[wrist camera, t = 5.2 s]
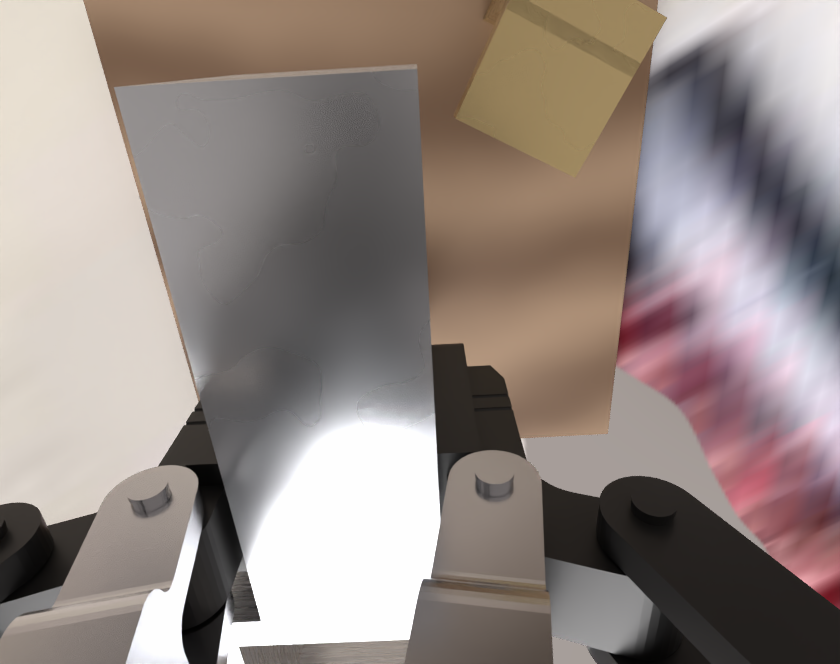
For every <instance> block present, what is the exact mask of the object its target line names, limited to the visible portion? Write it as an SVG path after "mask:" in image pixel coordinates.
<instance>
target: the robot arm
mask: <svg viewBox="0 0 840 664" xmlns="http://www.w3.org/2000/svg"><path fill="white" fill-rule="evenodd" d="M431 348H432V367H433V387H434V406H435V426H436V445H437V465H438V484H439V504H440V525H439V531H438V537H437V542H436V548H435V553H434V559H433V564H432V570H431V575H430V578H423V580H422V582H421V585H420V588H419V592H418V596H417V601H416V606H415V611H414V617H413V622H412V627H411V632H410V637H409V642H408V647H407V652H406V657H405V662H404V664H553V648H552V636H553V637H556V638H560V639H564V640H567V641H571V642H574V643H578V644H581V645H585V646H587V648H588V650H589V652H590V654H591V656H592V657H593V659H594V660H595V662H596V663H597V664H840V610H839V609H838V608H837V607H835V606H834V605H833V604H832V603H830V602H829V601H828V600H826V599H825V598H824V597H823V596H821V595H820V594H819V593H817V592H816V591H815V590H813V589H812V588H811V587H810V586H808V585H807V584H806V583H804V582H803V581H802V580H801V579H799V578H798V577H797V576H795V575H794V574H793V573H792V572H790V571H789V570H788V569H786V568H785V567H784V566H782V565H781V564H780V563H779V562H777V561H776V560H775V559H773V558H772V557H771V556H770V555H768V554H767V553H766V552H764V551H763V550H762V549H760V548H759V547H758V546H757V545H755V544H754V543H753V542H751V541H750V540H749V539H747V538H746V537H745V536H744V535H742V534H741V533H740V532H739V531H737V530H736V529H735V528H733V527H732V526H731V525H729V524H728V523H727V522H725V521H724V520H723V519H722V518H720V517H719V516H718V515H716V514H715V513H714V512H713V511H711V510H710V509H709V508H708V507H706V506H705V505H704V504H702V503H701V502H700V501H698V500H697V499H696V498H695V497H693V496H692V495H691V494H689V493H688V492H686V491H685V490H684V489H682V488H680V487H678V486H676V485H674V484H672V483H669V482H667V481H664V480H661V479H657V478H652V477H645V476H630V477H624V478H621V479H618V480H615V481H613V482H612V483H610V484H609V485H607V486H606V487H605V488H604V490H603V491H602V493H601V496H600V498H598V497H593V496H588V495H583V494H577V493H573V492H569V491H565V490H562V489H559V488H557V487H554V486H552V485H550V484H548V483H547V482H545V481H544V480H542V479H541V477H540V475H539V472H538V471H537V470H536V468H535V467H534V466H533V465H532V464H531V463H530V462H528V461H527V460H526V457H525V453H524V449H523V446H522V442H521V438H520V434H519V431H518V427H517V423H516V420H515V416H514V412H513V410H512V405H511V401H510V398H509V396H508V390H507V387H506V383H505V379H504V377H502V376H501V375H500V374H499V373H498V372H497V371H496V370H495V369H494V368H493V367H492V366H491V365H485V366H467V362H466V356H465V350H464V344H463V343H455V344H435V345H431ZM240 571H247V567H246V564H245V560H244V556H243V553H242V549H241V545H240V542H239V538H238V535H237V531H236V527H235V524H234V520H233V517H232V513H231V509H230V506H229V502H228V498H227V495H226V491H225V488H224V484H223V480H222V477H221V473H220V469H219V466H218V462H217V459H216V455H215V451H214V448H213V444H212V440H211V437H210V433H209V430H208V426H207V422H206V419H205V415H204V412H203V408H202V404H201V401H199V402H198V404H197V406H196V407H195V412H192V413H191V415H190V417H189V418H188V420H187V421H186V425H184V426H183V428H182V429H181V431H180V433H179V434H178V436H177V437H176V439H175V440H174V442H173V444H172V445H171V447H170V448H169V450H168V452H167V453H166V455H165V456H164V458H163V459H162V461H161V463H160V464H159V466H158V467H154V468H150V469H147V470H144V471H141V472H139V473H137V474H135V475H133V476H131V477H129V478H127V479H125V480H124V481H122V482H121V483H120V484H118V485H117V486H116V487H114V488H113V489H112V490H111V491H110V492H109V493H108V495H107V496H106V497H105V499H104V500H103V502H102V504H101V506H100V508H99V510H98V512H97V513H94V514H90V515H87V516H83V517H79V518H75V519H72V520H68V521H64V522H60V523H57V524H53V525H49V526H47V525H46V523H45V521H44V519H43V517H42V515H41V513H40V511H39V509H38V508H37V507H35V506H33V505H31V504H27V503H9V504H3V505H0V664H227V661H228V654H229V646H230V639H231V632H232V624H233V617H234V610H235V602H234V597H233V594H232V591H231V589H232V586H233V583H234V580H235V577H236V574H237V572H240Z"/></svg>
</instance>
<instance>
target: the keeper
mask: <svg viewBox="0 0 840 664" xmlns="http://www.w3.org/2000/svg"><path fill="white" fill-rule="evenodd" d="M666 19H667V17H665V16H663V15H662V14H660V13H658V12H657V11H655V10H653V9H651V8H650V7H648V6H646V5H644V4H643V3H641V2H639V1H638V0H491V2H490V5H489V7H488V9H487V11H486V14H485V16H484V18H483V20H484V21H486V22H488V23H490V24H491V25H493V26H494V27H493V29H492V31H491V33H490V36H489V38H488V40H487V42H486V44H485V47H484V49H483V51H482V53H481V56H480V58H479V60H478V62H477V64H476V67H475V69H474V71H473V73H472V75H471V78H470V80H469V82H468V84H467V86H466V89H465V91H464V93H463V95H462V97H461V100H460V102H459V104H458V106H457V108H456V111H455V113H454V117H455V119H457V120H459V121H461V122H463V123H465V124H467V125H469V126H471V127H473V128H475V129H477V130H479V131H481V132H483V133H485V134H487V135H489V136H491V137H493V138H495V139H497V140H499V141H502V142H504V143H506V144H508V145H510V146H512V147H514V148H516V149H518V150H520V151H522V152H524V153H526V154H528V155H530V156H532V157H534V158H536V159H538V160H540V161H542V162H544V163H546V164H548V165H550V166H552V167H554V168H556V169H558V170H560V171H562V172H564V173H566V174H568V175H570V176H572V177H574V178H575V177H576V176H577V174H578V172H579V170H580V169H581V167H582V165H583V163H584V162H585V160H586V158H587V157H588V155H589V153H590V151H591V150H592V148H593V146H594V144H595V143H596V141H597V139H598V137H599V136H600V134H601V132H602V130H603V129H604V127H605V125H606V123H607V122H608V120H609V118H610V116H611V115H612V113H613V111H614V109H615V108H616V106H617V104H618V102H619V101H620V99H621V97H622V95H623V94H624V92H625V90H626V88H627V87H628V85H629V83H630V81H631V80H632V78H633V76H634V74H635V73H636V71H637V69H638V67H639V66H640V64H641V62H642V60H643V59H644V57H645V55H646V53H647V52H648V50H649V48H650V47H651V45H652V43H653V41H654V40H655V38H656V36H657V34H658V33H659V31H660V29H661V27H662V26H663V24H664V22H665V20H666Z"/></svg>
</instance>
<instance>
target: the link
mask: <svg viewBox="0 0 840 664" xmlns="http://www.w3.org/2000/svg"><path fill="white" fill-rule="evenodd" d="M114 89H115V93H116V97H117V100H118V104H119V107H120V111H121V115H122V118H123V122H124V126H125V129H126V133H127V136H128V140H129V144H130V147H131V151H132V155H133V158H134V162H135V165H136V169H137V173H138V176H139V180H140V183H141V187H142V191H143V194H144V198H145V202H146V205H147V209H148V212H149V216H150V220H151V223H152V227H153V231H154V234H155V238H156V241H157V245H158V249H159V252H160V256H161V259H162V263H163V267H164V270H165V274H166V278H167V281H168V285H169V288H170V292H171V296H172V299H173V303H174V307H175V310H176V314H177V317H178V321H179V325H180V328H181V332H182V336H183V339H184V343H185V346H186V350H187V354H188V357H189V361H190V364H191V368H192V372H193V375H194V379H195V383H196V386H197V390H198V393H199V397H200V401H201V404H202V408H203V412H204V415H205V419H206V422H207V426H208V430H209V433H210V437H211V440H212V444H213V448H214V451H215V455H216V459H217V462H218V466H219V469H220V473H221V477H222V480H223V484H224V488H225V491H226V495H227V498H228V502H229V506H230V509H231V513H232V517H233V520H234V524H235V527H236V531H237V535H238V538H239V542H240V545H241V549H242V553H243V556H244V560H245V564H246V567H247V571H240V572H237V574H236V577H235V580H234V583H233V586H232V589H231V591H232V594H233V597H234V602H235V610H234V617H233V624H232V632H231V639H230V646H229V654H228V661H227V664H404V662H405V657H406V652H407V647H408V642H409V637H410V632H411V627H412V622H413V617H414V611H415V606H416V601H417V596H418V592H419V588H420V585H421V582H422V580H423V578H430V575H431V570H432V564H433V559H434V553H435V548H436V542H437V537H438V531H439V525H440V504H439V484H438V465H437V445H436V426H435V406H434V387H433V367H432V348H431V328H430V308H429V289H428V269H427V250H426V230H425V211H424V191H423V171H422V152H421V132H420V113H419V93H418V74H417V64H409V65H392V66H376V67H359V68H343V69H326V70H309V71H293V72H276V73H260V74H243V75H230V76H220V77H210V78H200V79H190V80H180V81H170V82H160V83H151V84H141V85H131V86H121V87H114Z"/></svg>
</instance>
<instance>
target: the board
mask: <svg viewBox="0 0 840 664" xmlns="http://www.w3.org/2000/svg"><path fill="white" fill-rule="evenodd" d="M83 1H84V4H85V8H86V11H87V15H88V18H89V22H90V25H91V29H92V32H93V36H94V39H95V42H96V46H97V49H98V53H99V56H100V60H101V63H102V67H103V70H104V74H105V77H106V81H107V84H108V88H109V91H110V95H111V98H112V102H113V105H114V109H115V112H116V116H117V119H118V123H119V126H120V130H121V133H122V136H123V140H124V143H125V147H126V150H127V154H128V157H129V161H130V164H131V168H132V171H133V175H134V178H135V182H136V185H137V189H138V192H139V196H140V199H141V203H142V206H143V210H144V213H145V217H146V220H147V224H148V227H149V230H150V234H151V237H152V241H153V244H154V248H155V251H156V255H157V258H158V262H159V265H160V269H161V272H162V276H163V279H164V283H165V286H166V290H167V293H168V297H169V300H170V304H171V307H172V311H173V314H174V318H175V321H176V324H177V328H178V331H179V335H180V338H181V342H182V345H183V349H184V352H185V356H186V359H187V363H188V366H189V370H190V373H191V377H192V380H193V384H194V387H195V391H196V394H197V398H198V401H200V397H199V393H198V390H197V386H196V383H195V379H194V375H193V372H192V368H191V364H190V361H189V357H188V354H187V350H186V346H185V343H184V339H183V336H182V332H181V328H180V325H179V321H178V317H177V314H176V310H175V307H174V303H173V299H172V296H171V292H170V288H169V285H168V281H167V278H166V274H165V270H164V267H163V263H162V259H161V256H160V252H159V249H158V245H157V241H156V238H155V234H154V231H153V227H152V223H151V220H150V216H149V212H148V209H147V205H146V202H145V198H144V194H143V191H142V187H141V183H140V180H139V176H138V173H137V169H136V165H135V162H134V158H133V155H132V151H131V147H130V144H129V140H128V136H127V133H126V129H125V126H124V122H123V118H122V115H121V111H120V107H119V104H118V100H117V97H116V93H115V89H114V87H121V86H131V85H141V84H151V83H160V82H170V81H180V80H190V79H200V78H210V77H220V76H230V75H243V74H260V73H276V72H293V71H309V70H326V69H343V68H359V67H376V66H392V65H409V64H417V74H418V93H419V113H420V132H421V152H422V171H423V191H424V211H425V230H426V250H427V269H428V289H429V308H430V328H431V345H435V344H455V343H463V344H464V350H465V356H466V362H467V366H485V365H491V366H492V367H493V368H494V369H495V370H496V371H497V372H498V373H499V374H500V375H501V376H502V377H504V379H505V383H506V387H507V390H508V396H509V398H510V401H511V405H512V410H513V412H514V416H515V420H516V423H517V427H518V431H519V434H520V438H533V437H534V438H535V437H554V436H572V435H592V434H607V433H608V427H609V419H610V410H611V401H612V392H613V383H614V375H615V367H616V358H617V350H618V341H619V332H620V324H621V315H622V306H623V298H624V289H625V281H626V272H627V263H628V255H629V246H630V238H631V229H632V220H633V212H634V203H635V194H636V186H637V177H638V169H639V160H640V151H641V143H642V134H643V125H644V117H645V108H646V100H647V91H648V82H649V74H650V65H651V56H652V48H653V43H652V45H651V47H650V48H649V50H648V52H647V53H646V55H645V57H644V59H643V60H642V62H641V64H640V66H639V67H638V69H637V71H636V73H635V74H634V76H633V78H632V80H631V81H630V83H629V85H628V87H627V88H626V90H625V92H624V94H623V95H622V97H621V99H620V101H619V102H618V104H617V106H616V108H615V109H614V111H613V113H612V115H611V116H610V118H609V120H608V122H607V123H606V125H605V127H604V129H603V130H602V132H601V134H600V136H599V137H598V139H597V141H596V143H595V144H594V146H593V148H592V150H591V151H590V153H589V155H588V157H587V158H586V160H585V162H584V163H583V165H582V167H581V169H580V170H579V172H578V174H577V176H576V177H575V178H574V177H572V176H570V175H568V174H566V173H564V172H562V171H560V170H558V169H556V168H554V167H552V166H550V165H548V164H546V163H544V162H542V161H540V160H538V159H536V158H534V157H532V156H530V155H528V154H526V153H524V152H522V151H520V150H518V149H516V148H514V147H512V146H510V145H508V144H506V143H504V142H502V141H499V140H497V139H495V138H493V137H491V136H489V135H487V134H485V133H483V132H481V131H479V130H477V129H475V128H473V127H471V126H469V125H467V124H465V123H463V122H461V121H459V120H457V119H455V117H454V113H455V111H456V108H457V106H458V104H459V102H460V100H461V97H462V95H463V93H464V91H465V89H466V86H467V84H468V82H469V80H470V78H471V75H472V73H473V71H474V69H475V67H476V64H477V62H478V60H479V58H480V56H481V53H482V51H483V49H484V47H485V44H486V42H487V40H488V38H489V36H490V33H491V31H492V29H493V27H494V26H493V25H491V24H490V23H488V22H486V21H484V20H483V18H484V16H485V14H486V11H487V9H488V7H489V5H490V2H491V0H83ZM638 1H639V2H641V3H643V4H644V5H646V6H648V7H650V8H651V9H653V10H655V11H657V5H658V0H638Z"/></svg>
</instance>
